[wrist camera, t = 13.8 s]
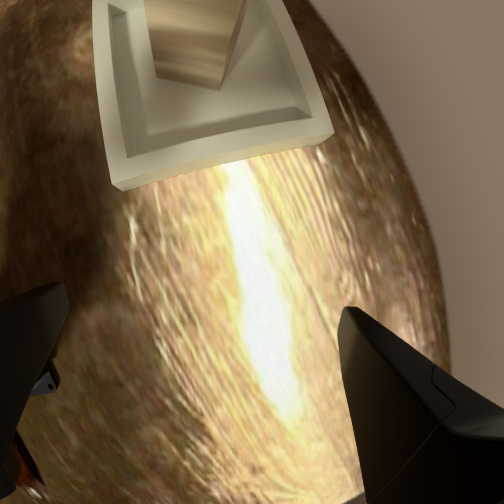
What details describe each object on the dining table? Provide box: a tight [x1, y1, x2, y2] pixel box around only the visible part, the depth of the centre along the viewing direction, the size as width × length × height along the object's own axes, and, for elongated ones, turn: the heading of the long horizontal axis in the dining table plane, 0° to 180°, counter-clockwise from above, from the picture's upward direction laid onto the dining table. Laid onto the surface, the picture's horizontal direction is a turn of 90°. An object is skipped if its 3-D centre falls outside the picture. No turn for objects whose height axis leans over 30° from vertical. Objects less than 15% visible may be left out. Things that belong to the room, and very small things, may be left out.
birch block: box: [143, 0, 249, 91], centre depth 12 cm, size 4×4×13 cm
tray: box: [92, 0, 335, 192], centre depth 18 cm, size 14×16×3 cm
